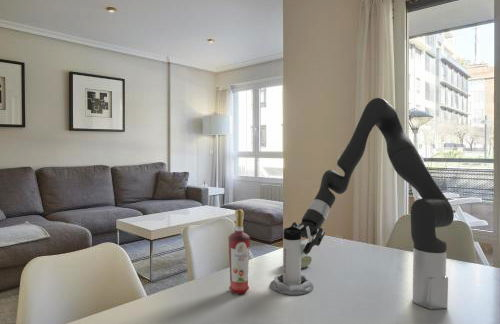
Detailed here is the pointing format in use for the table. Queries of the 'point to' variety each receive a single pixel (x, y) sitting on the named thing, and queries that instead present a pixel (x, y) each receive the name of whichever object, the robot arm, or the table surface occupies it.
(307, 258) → the air freshener
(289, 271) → the travel mug
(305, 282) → the collar
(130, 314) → the table surface
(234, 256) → the liquor
